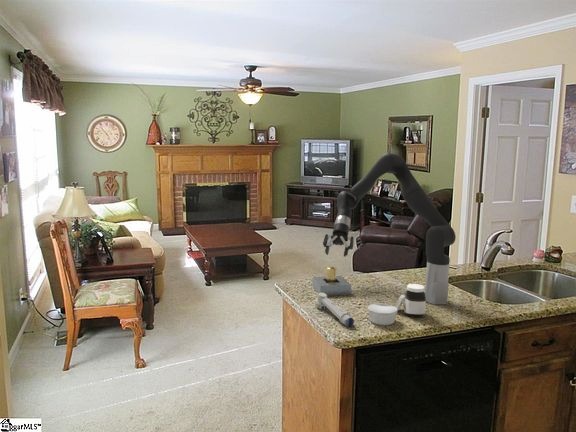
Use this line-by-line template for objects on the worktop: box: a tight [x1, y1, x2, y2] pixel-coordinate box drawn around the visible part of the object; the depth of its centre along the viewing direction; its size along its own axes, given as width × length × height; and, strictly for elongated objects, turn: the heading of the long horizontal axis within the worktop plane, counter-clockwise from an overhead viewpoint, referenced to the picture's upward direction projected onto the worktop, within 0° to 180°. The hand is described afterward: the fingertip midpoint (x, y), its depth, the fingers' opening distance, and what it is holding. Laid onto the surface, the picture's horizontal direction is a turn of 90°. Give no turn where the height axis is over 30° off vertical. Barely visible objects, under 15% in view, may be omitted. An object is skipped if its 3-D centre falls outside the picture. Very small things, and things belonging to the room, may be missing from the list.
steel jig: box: [312, 275, 352, 296], centre depth 221 cm, size 14×14×4 cm
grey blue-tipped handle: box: [314, 293, 355, 328], centre depth 190 cm, size 5×7×25 cm
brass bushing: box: [326, 266, 337, 283], centre depth 220 cm, size 4×4×10 cm
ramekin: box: [367, 302, 398, 326], centre depth 185 cm, size 11×11×5 cm
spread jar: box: [394, 283, 427, 318], centre depth 193 cm, size 12×11×12 cm
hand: (335, 254), depth 226 cm, fingers open, 8 cm apart
